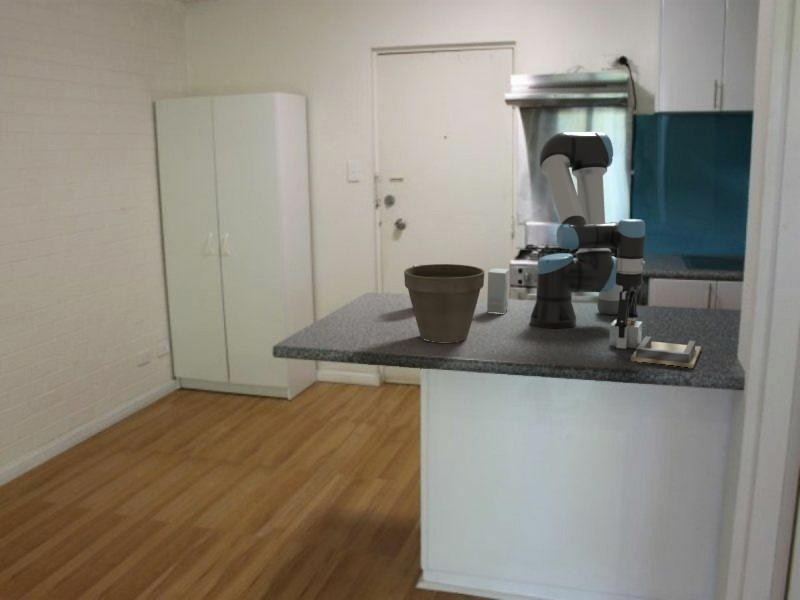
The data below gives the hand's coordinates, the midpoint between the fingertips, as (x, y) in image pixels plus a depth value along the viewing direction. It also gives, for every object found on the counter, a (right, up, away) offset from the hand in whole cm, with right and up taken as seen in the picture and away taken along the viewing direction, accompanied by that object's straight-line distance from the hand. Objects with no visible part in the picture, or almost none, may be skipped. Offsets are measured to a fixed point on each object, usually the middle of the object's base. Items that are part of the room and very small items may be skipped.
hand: (625, 343), depth 218 cm
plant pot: (-54, +1, +9) cm, 55 cm away
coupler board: (+8, -3, -13) cm, 15 cm away
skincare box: (-32, +8, +45) cm, 56 cm away
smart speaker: (+7, +8, +41) cm, 43 cm away
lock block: (0, 0, 0) cm, 0 cm away
